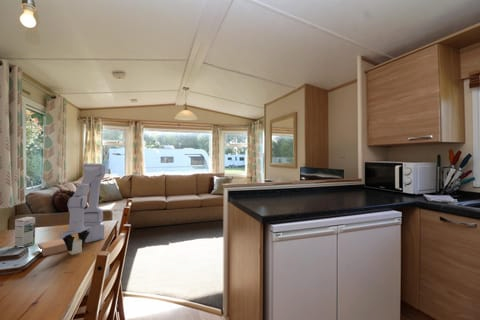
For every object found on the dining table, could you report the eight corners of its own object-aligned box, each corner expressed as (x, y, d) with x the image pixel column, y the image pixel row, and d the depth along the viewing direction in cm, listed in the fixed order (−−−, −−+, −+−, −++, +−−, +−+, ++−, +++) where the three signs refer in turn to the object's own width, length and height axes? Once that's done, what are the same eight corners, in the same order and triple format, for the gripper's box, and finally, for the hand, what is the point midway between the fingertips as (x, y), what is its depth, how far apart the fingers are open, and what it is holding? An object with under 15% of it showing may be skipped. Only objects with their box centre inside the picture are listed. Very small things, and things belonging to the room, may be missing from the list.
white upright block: (78, 250, 113) (79, 238, 113) (81, 252, 110) (82, 240, 111) (69, 252, 110) (69, 240, 110) (71, 254, 107) (72, 242, 108)
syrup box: (22, 248, 114) (23, 219, 115) (13, 247, 115) (15, 218, 116) (34, 244, 120) (36, 217, 120) (26, 243, 121) (27, 216, 121)
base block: (62, 246, 119) (62, 238, 119) (69, 250, 113) (69, 242, 113) (37, 251, 111) (38, 243, 111) (43, 256, 105) (44, 248, 105)
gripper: (84, 217, 119) (83, 242, 118) (55, 223, 105) (53, 252, 104) (94, 218, 117) (93, 244, 116) (66, 225, 103) (64, 254, 102)
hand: (75, 248), depth 110 cm, fingers closed on white upright block, 5 cm apart
